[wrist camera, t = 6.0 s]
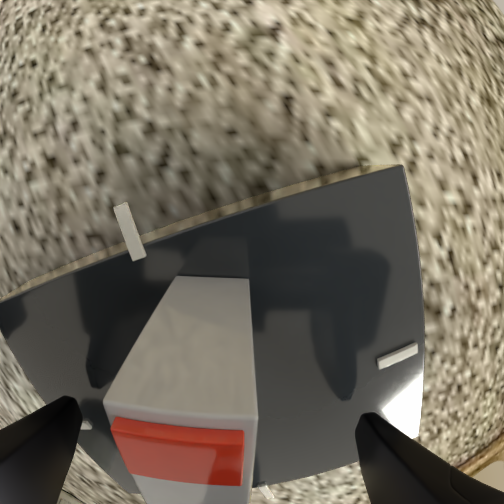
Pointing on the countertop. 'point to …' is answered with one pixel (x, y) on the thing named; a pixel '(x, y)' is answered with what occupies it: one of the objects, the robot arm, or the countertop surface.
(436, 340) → the countertop surface
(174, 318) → the knob
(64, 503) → the spray can
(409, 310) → the block
